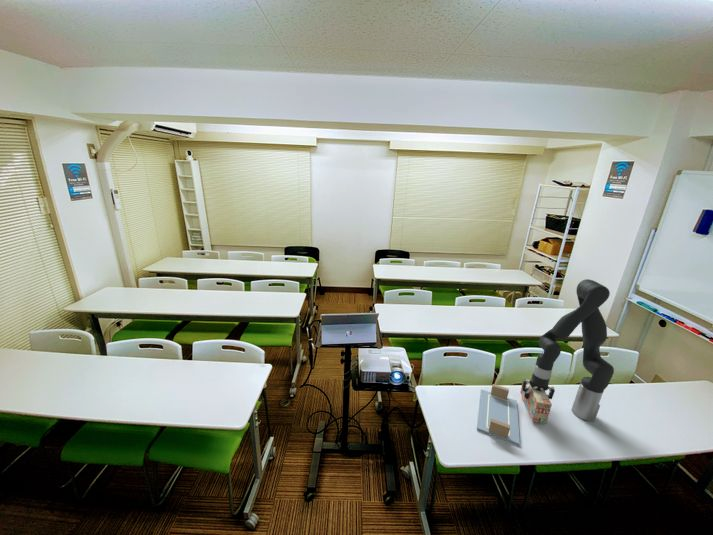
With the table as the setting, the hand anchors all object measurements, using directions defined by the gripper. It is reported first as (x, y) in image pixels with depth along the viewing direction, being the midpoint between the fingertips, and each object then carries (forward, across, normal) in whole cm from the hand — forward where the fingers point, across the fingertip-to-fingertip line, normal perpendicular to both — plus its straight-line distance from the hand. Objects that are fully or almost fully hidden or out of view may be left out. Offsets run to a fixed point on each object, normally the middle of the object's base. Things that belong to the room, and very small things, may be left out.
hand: (534, 400), depth 150 cm
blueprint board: (+6, +16, +13) cm, 22 cm away
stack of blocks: (+5, 0, -1) cm, 5 cm away
